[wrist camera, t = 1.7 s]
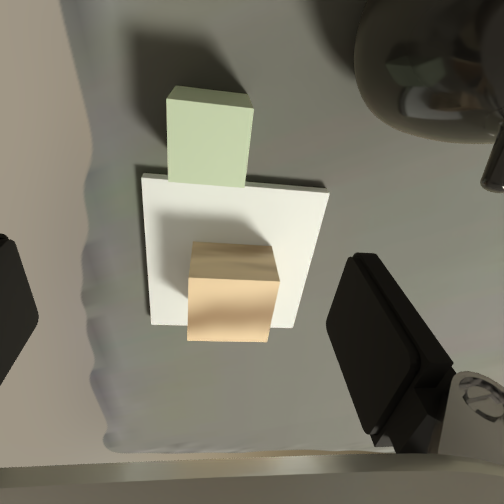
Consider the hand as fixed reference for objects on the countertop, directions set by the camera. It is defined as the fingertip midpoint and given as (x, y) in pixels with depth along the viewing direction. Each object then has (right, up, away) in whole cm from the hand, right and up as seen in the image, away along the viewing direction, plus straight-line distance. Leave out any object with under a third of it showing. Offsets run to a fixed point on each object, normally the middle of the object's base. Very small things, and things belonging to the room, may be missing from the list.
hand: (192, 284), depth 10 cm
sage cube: (-1, +10, +15) cm, 18 cm away
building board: (0, 0, +22) cm, 21 cm away
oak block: (0, -1, +21) cm, 21 cm away
